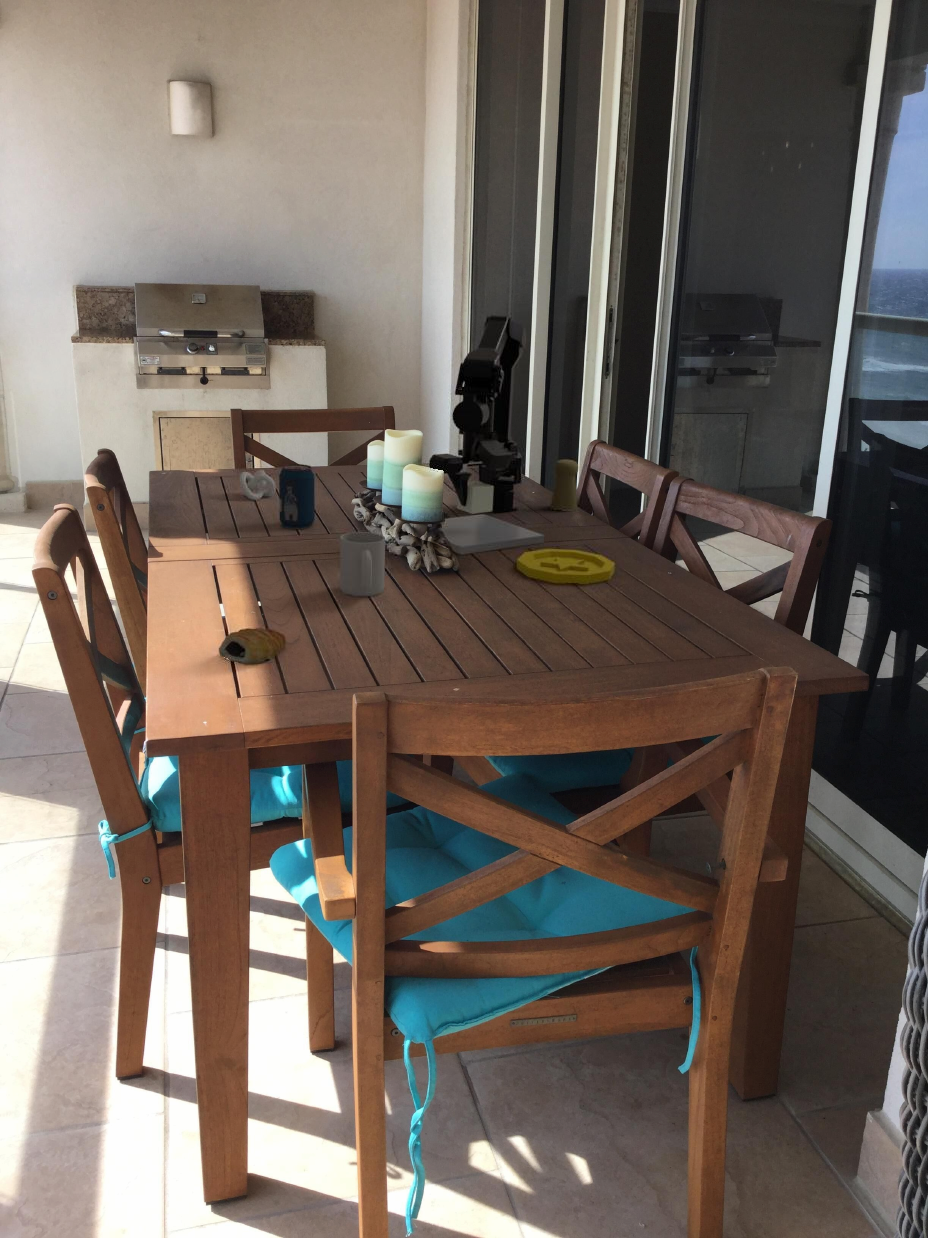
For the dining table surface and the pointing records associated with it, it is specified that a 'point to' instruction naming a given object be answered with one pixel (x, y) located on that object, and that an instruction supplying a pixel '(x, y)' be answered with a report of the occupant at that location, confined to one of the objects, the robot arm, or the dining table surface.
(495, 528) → the grey tile
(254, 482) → the knot
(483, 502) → the sage cube
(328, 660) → the dining table surface
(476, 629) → the dining table surface
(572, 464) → the cork
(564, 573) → the decorative disc
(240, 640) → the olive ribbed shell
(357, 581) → the cup
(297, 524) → the soda can
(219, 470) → the dining table surface
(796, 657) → the dining table surface
